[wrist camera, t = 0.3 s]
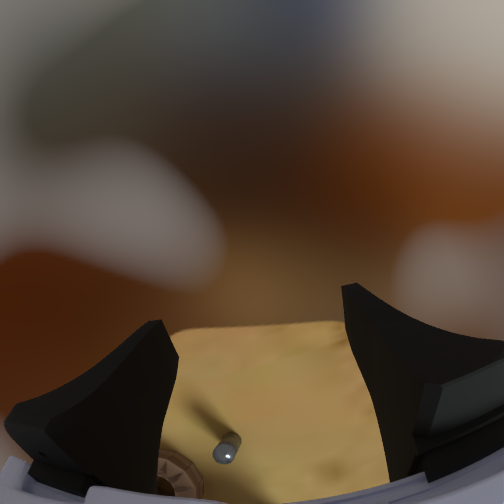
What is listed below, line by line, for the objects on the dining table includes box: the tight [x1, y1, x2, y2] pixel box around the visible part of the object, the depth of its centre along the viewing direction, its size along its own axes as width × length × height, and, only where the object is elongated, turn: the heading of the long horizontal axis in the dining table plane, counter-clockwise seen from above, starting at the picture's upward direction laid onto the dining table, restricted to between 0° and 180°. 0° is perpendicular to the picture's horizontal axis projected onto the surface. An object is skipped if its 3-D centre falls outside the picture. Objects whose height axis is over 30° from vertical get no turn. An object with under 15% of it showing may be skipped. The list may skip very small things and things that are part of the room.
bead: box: [157, 449, 203, 499], centre depth 31 cm, size 10×10×4 cm
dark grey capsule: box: [213, 432, 241, 464], centre depth 31 cm, size 2×2×7 cm
